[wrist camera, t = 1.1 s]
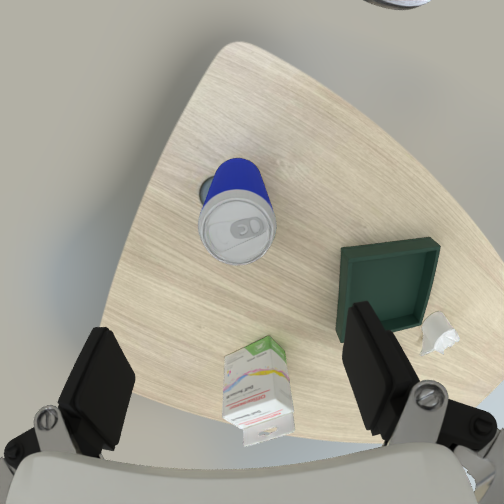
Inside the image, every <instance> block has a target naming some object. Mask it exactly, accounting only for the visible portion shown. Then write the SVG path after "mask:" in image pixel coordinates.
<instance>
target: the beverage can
mask: <svg viewBox="0 0 504 504" xmlns="http://www.w3.org/2000/svg"><path fill="white" fill-rule="evenodd" d="M276 228H277V227H276V218H275V214H274V211H273V208H272V205H271V203H270V200H269V197H268V194H267V191H266V188H265V185H264V183H263V180H262V177H261V174H260V172H259V170H258V168H257V167H256V166H255V165H254V164H253V163H252V162H250V161H248V160H246V159H242V158H233V159H230V160H227V161H225V162H224V163H223V164H221V165H220V166H219V168H218V169H217V171H216V173H215V176H214V178H213V181H212V184H211V186H210V189H209V191H208V194H207V197H206V200H205V202H204V205H203V208H202V210H201V213H200V216H199V221H198V231H199V235H200V238H201V241H202V242H203V244H204V246H205V248H206V249H207V251H208V252H209V253H210V254H211V255H212V256H213V257H214V258H216V259H217V260H219V261H221V262H223V263H226V264H229V265H246V264H250V263H252V262H254V261H256V260H258V259H259V258H261V257H262V256H263V255H264V254H265V253H266V252H267V250H268V249H269V247H270V245H271V244H272V242H273V240H274V237H275V234H276Z"/></svg>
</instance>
